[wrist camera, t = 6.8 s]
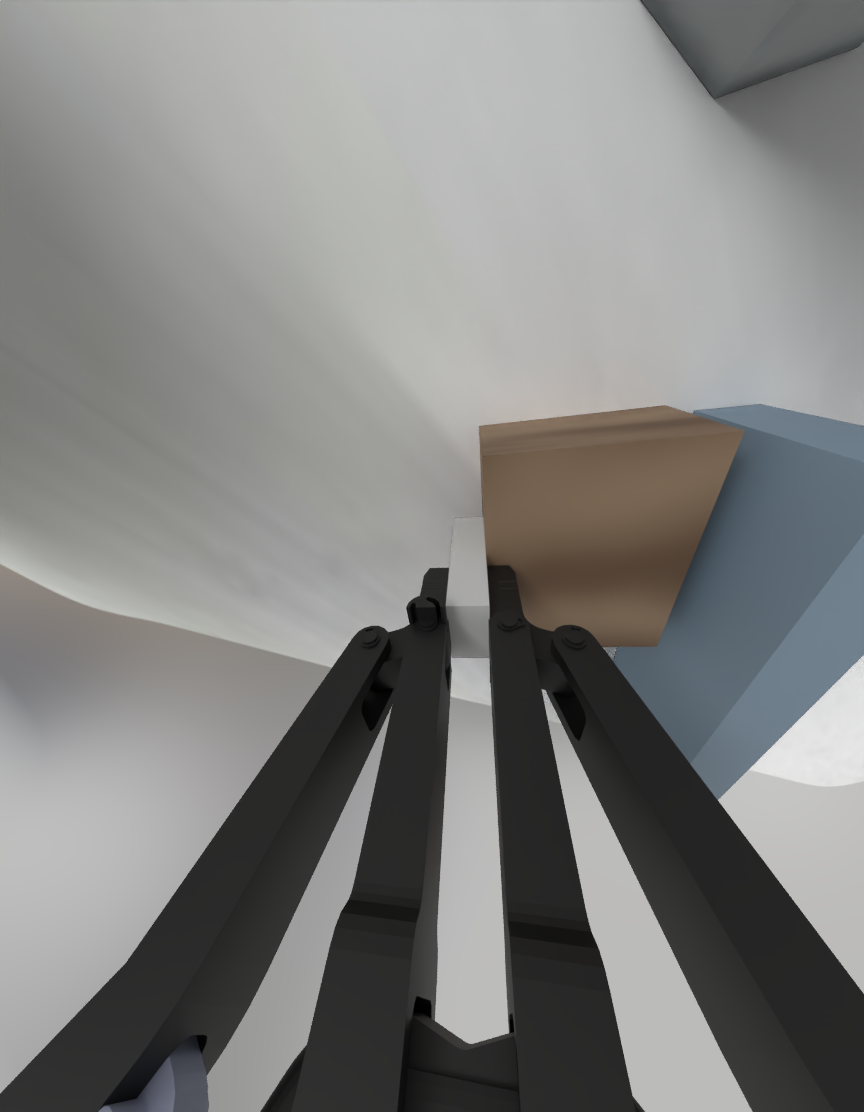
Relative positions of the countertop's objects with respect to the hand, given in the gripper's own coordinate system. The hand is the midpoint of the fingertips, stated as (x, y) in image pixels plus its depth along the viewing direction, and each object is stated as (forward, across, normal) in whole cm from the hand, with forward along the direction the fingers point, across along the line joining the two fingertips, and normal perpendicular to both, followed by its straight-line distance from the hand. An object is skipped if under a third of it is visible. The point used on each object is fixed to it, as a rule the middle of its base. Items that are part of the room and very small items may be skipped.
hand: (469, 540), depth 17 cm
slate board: (+2, +11, -6) cm, 13 cm away
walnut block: (+2, +5, 0) cm, 5 cm away
